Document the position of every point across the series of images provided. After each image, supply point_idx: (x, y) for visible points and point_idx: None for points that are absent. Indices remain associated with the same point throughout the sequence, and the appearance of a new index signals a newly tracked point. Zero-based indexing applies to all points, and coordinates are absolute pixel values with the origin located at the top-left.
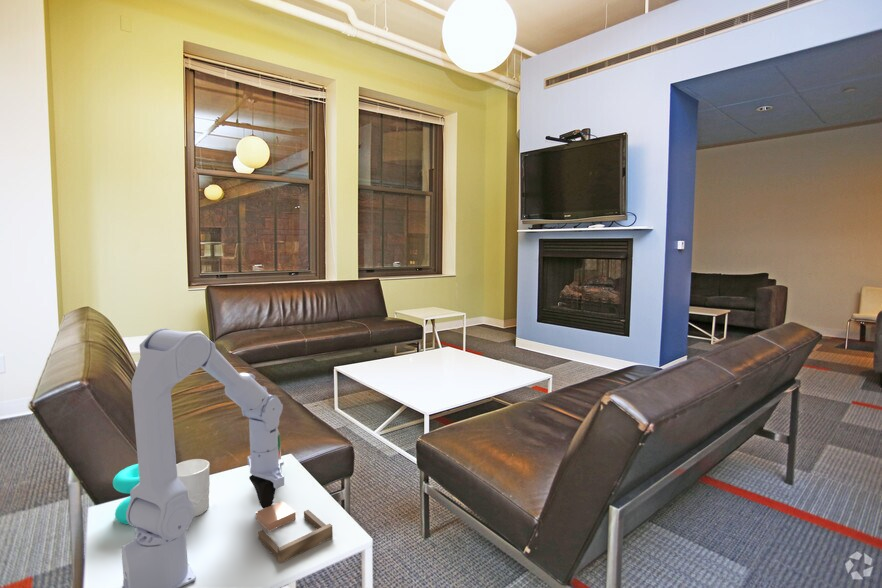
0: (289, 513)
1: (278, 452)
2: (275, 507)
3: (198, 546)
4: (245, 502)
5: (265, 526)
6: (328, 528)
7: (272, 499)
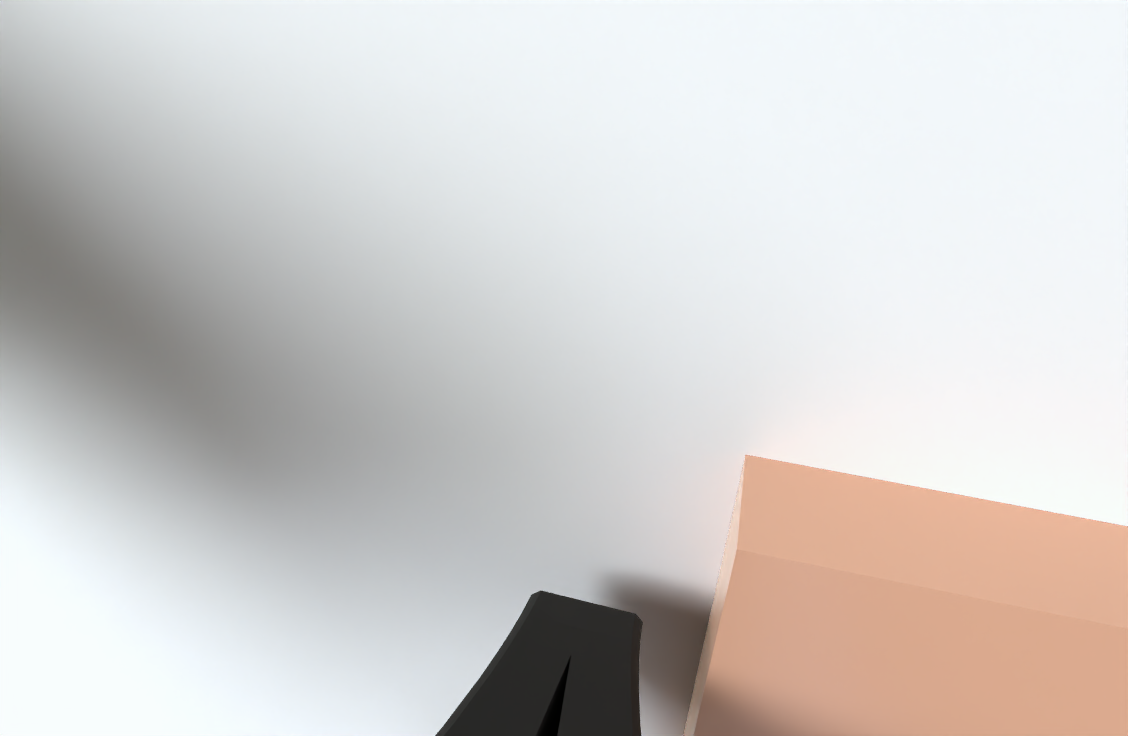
0: None
1: None
2: (829, 716)
3: None
4: (203, 591)
5: None
6: None
7: (633, 709)
